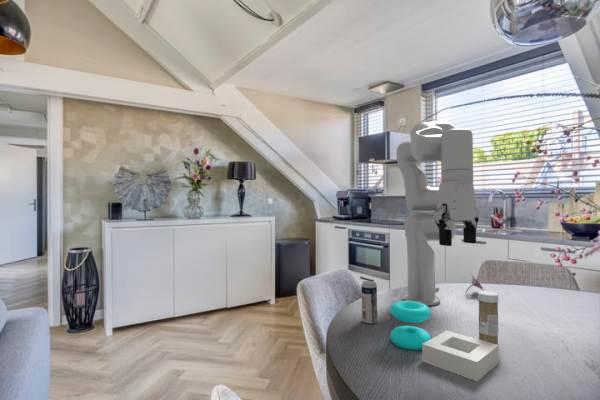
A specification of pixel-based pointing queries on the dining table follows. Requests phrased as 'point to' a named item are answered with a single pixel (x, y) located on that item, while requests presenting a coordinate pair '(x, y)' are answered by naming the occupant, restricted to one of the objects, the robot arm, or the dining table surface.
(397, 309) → the donuts
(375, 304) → the beer can
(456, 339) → the socket block
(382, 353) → the dining table surface
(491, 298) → the sprinkles bottle
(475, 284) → the lily
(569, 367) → the dining table surface
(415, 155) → the robot arm
